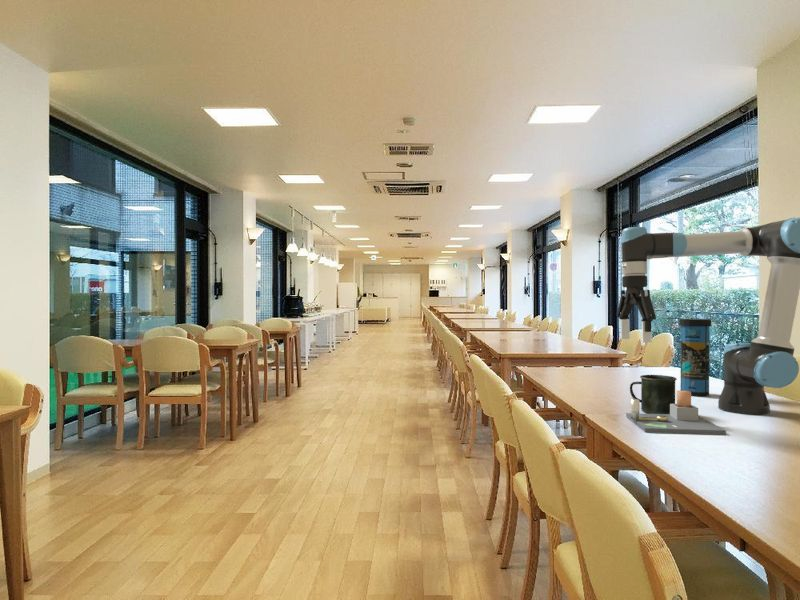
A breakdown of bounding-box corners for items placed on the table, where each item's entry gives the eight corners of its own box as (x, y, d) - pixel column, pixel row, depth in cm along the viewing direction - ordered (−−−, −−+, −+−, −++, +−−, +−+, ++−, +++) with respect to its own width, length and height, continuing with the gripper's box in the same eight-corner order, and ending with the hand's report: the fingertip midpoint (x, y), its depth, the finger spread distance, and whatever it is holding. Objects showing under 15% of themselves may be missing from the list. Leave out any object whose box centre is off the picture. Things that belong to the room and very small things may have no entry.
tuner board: (697, 418, 176) (697, 403, 176) (726, 434, 156) (726, 417, 156) (626, 416, 179) (626, 401, 179) (645, 432, 159) (645, 415, 159)
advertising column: (672, 392, 222) (672, 318, 222) (694, 391, 226) (694, 318, 225) (694, 397, 212) (695, 320, 211) (717, 395, 215) (718, 319, 215)
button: (688, 406, 174) (688, 390, 174) (693, 409, 170) (693, 392, 170) (674, 406, 174) (674, 390, 174) (679, 408, 170) (679, 392, 170)
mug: (675, 417, 178) (675, 380, 178) (627, 412, 186) (627, 377, 185) (677, 411, 188) (677, 376, 187) (631, 406, 195) (631, 373, 195)
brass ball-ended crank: (666, 418, 170) (666, 399, 170) (669, 421, 166) (669, 401, 166) (629, 417, 171) (629, 398, 171) (632, 420, 168) (632, 400, 168)
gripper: (605, 276, 190) (606, 337, 190) (643, 273, 165) (644, 344, 166) (626, 276, 191) (627, 337, 191) (667, 273, 166) (668, 343, 166)
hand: (635, 340), depth 178 cm, fingers open, 13 cm apart
